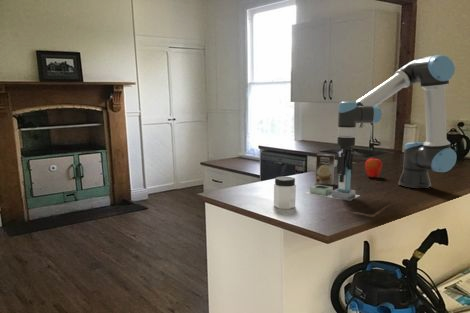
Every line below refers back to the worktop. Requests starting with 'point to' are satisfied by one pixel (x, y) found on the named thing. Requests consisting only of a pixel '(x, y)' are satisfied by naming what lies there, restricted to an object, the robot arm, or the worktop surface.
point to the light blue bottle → (347, 184)
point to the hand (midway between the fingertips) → (344, 188)
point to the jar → (284, 192)
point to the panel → (332, 192)
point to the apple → (373, 167)
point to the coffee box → (325, 169)
